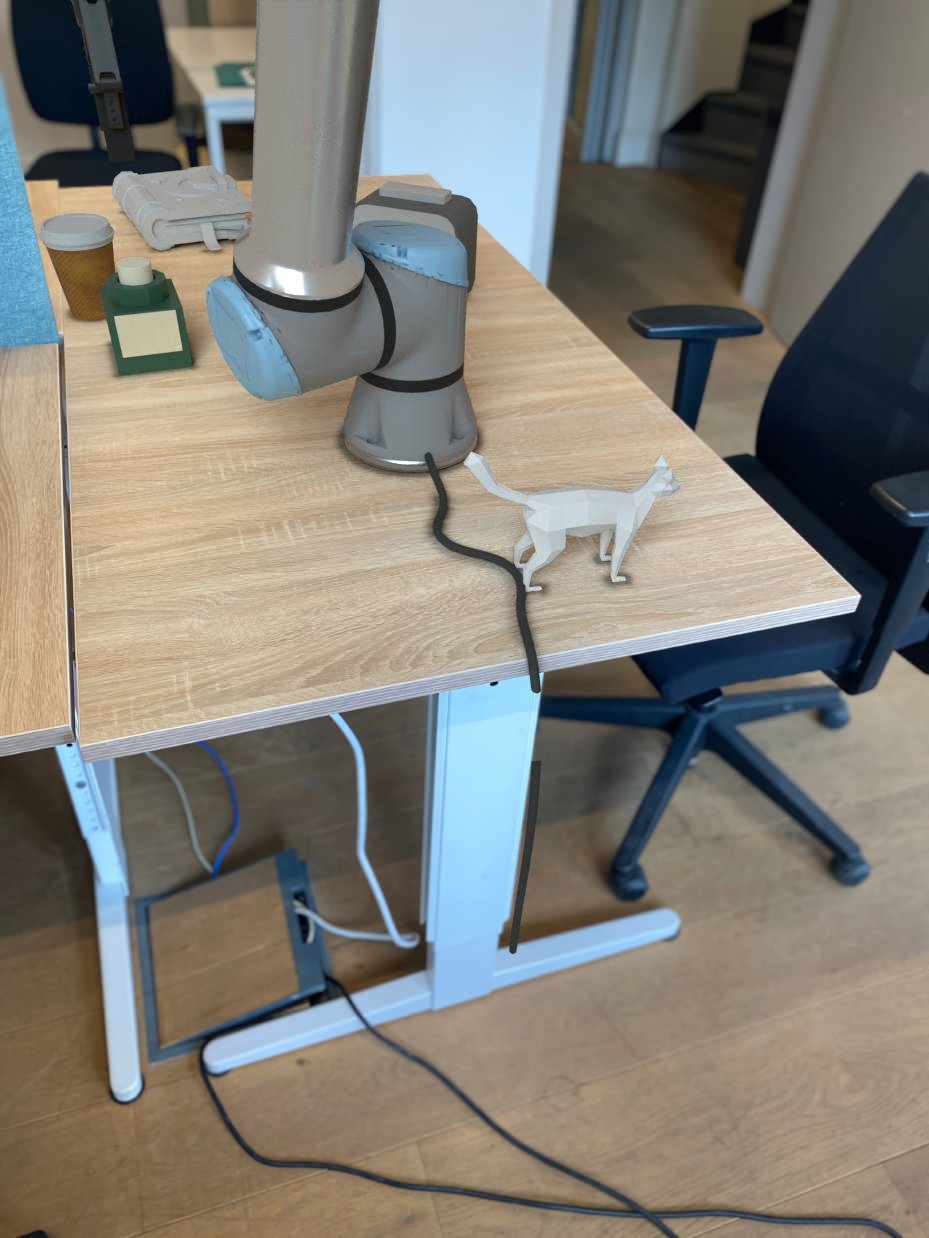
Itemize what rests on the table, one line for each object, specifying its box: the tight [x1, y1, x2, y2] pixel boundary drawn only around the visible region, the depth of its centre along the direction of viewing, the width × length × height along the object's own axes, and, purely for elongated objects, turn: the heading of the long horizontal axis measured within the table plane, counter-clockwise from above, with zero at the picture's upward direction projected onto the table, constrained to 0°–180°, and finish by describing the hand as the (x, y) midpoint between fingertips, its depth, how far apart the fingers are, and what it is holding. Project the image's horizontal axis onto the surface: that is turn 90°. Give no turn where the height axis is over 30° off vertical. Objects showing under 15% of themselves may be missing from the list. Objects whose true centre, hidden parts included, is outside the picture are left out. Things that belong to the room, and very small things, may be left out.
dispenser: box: [99, 268, 193, 377], centre depth 114 cm, size 10×9×10 cm
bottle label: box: [114, 310, 183, 358], centre depth 111 cm, size 1×7×5 cm, turn 112°
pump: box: [115, 256, 154, 286], centre depth 111 cm, size 4×4×2 cm
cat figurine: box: [463, 451, 682, 593], centre depth 81 cm, size 4×20×14 cm, turn 102°
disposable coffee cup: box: [38, 212, 116, 321], centre depth 123 cm, size 10×10×12 cm
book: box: [111, 165, 252, 252], centre depth 153 cm, size 19×28×8 cm
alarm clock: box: [353, 180, 479, 296], centre depth 131 cm, size 16×11×16 cm
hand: (117, 145), depth 102 cm, fingers open, 13 cm apart
